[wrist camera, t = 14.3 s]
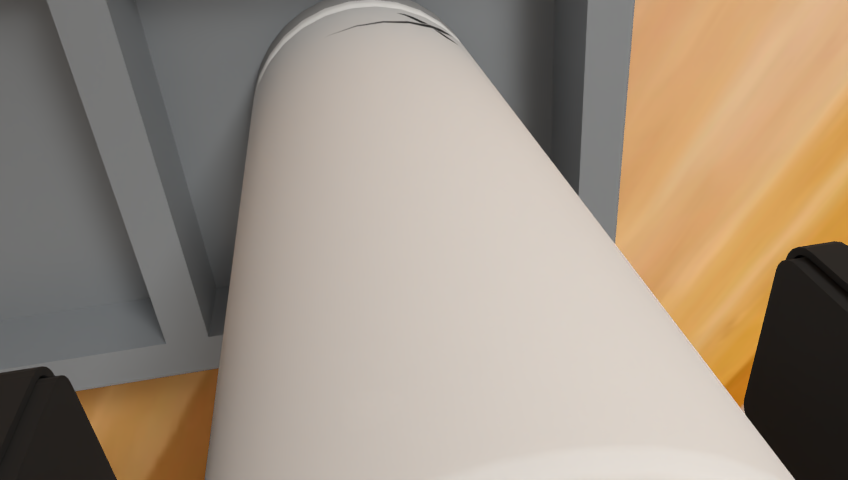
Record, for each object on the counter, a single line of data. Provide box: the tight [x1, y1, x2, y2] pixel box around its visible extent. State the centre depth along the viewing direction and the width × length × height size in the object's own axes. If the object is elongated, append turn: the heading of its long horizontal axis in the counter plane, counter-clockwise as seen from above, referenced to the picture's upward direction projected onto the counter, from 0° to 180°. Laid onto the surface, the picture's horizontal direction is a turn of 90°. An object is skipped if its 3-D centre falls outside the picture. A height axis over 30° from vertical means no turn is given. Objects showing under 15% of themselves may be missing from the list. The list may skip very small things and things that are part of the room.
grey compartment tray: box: [0, 0, 635, 391], centre depth 19 cm, size 13×26×4 cm, turn 95°
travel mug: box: [205, 0, 795, 480], centre depth 11 cm, size 6×7×20 cm
